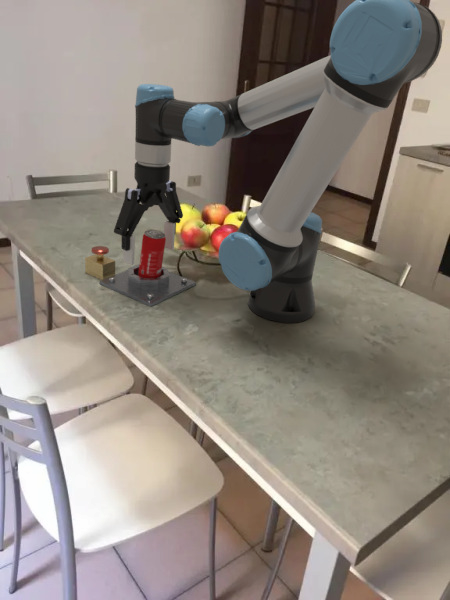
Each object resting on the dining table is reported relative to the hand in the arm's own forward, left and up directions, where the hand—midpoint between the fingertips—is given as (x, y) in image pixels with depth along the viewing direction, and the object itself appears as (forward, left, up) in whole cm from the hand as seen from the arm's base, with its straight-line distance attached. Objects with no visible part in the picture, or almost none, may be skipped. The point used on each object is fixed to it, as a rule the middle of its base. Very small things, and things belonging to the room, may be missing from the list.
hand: (149, 255), depth 120 cm
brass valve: (+12, +4, -8) cm, 15 cm away
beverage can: (0, 0, -7) cm, 7 cm away
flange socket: (0, 0, -7) cm, 7 cm away
